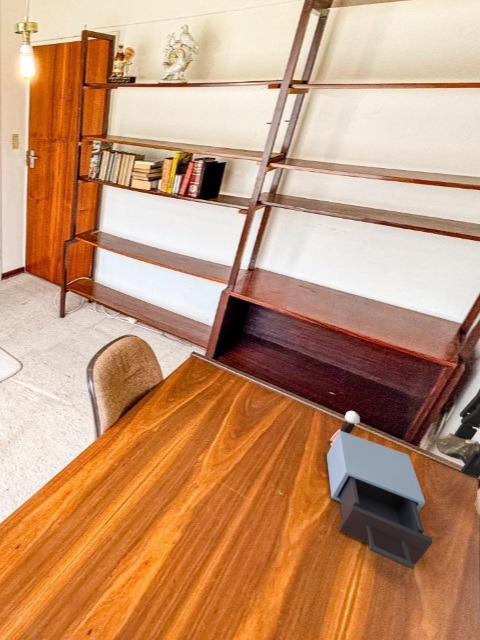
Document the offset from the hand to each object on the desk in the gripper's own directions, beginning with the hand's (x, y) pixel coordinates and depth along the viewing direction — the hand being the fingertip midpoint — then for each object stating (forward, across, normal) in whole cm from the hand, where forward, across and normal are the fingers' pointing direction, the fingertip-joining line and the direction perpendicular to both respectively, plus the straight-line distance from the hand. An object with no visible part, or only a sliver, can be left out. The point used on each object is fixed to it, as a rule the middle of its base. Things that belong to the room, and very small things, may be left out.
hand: (462, 460), depth 94 cm
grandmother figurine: (+14, +7, +20) cm, 25 cm away
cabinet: (+14, -6, +15) cm, 22 cm away
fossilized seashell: (0, 0, 0) cm, 0 cm away
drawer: (+13, -20, +15) cm, 28 cm away
